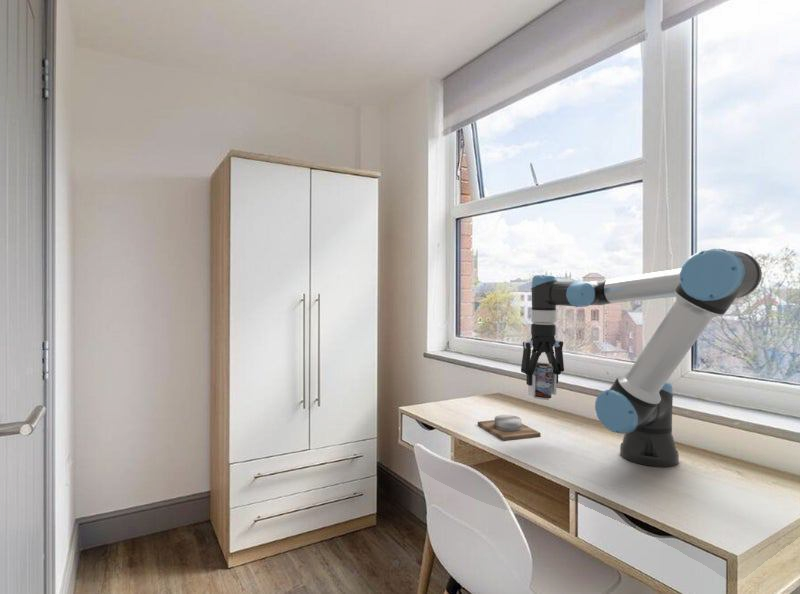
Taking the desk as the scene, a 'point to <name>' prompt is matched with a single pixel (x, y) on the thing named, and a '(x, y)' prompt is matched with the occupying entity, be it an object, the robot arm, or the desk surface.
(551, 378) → the beverage can
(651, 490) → the desk surface
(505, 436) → the post board
